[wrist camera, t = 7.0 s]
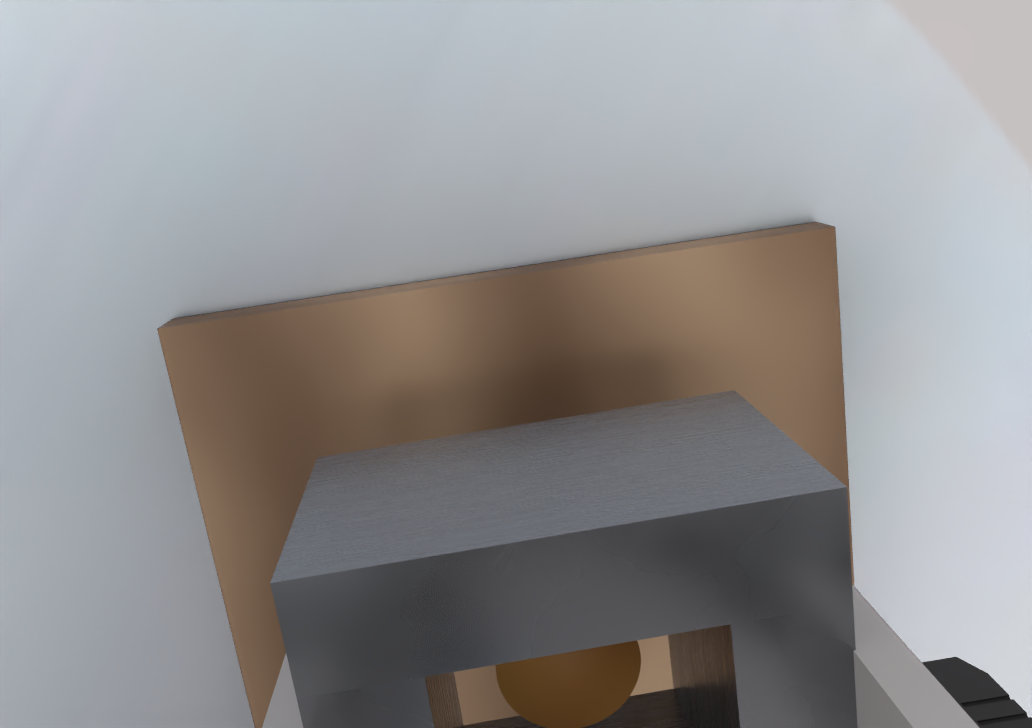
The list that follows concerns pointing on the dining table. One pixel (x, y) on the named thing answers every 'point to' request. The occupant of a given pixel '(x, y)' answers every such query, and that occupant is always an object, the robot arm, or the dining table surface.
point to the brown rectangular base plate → (496, 406)
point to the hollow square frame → (575, 569)
